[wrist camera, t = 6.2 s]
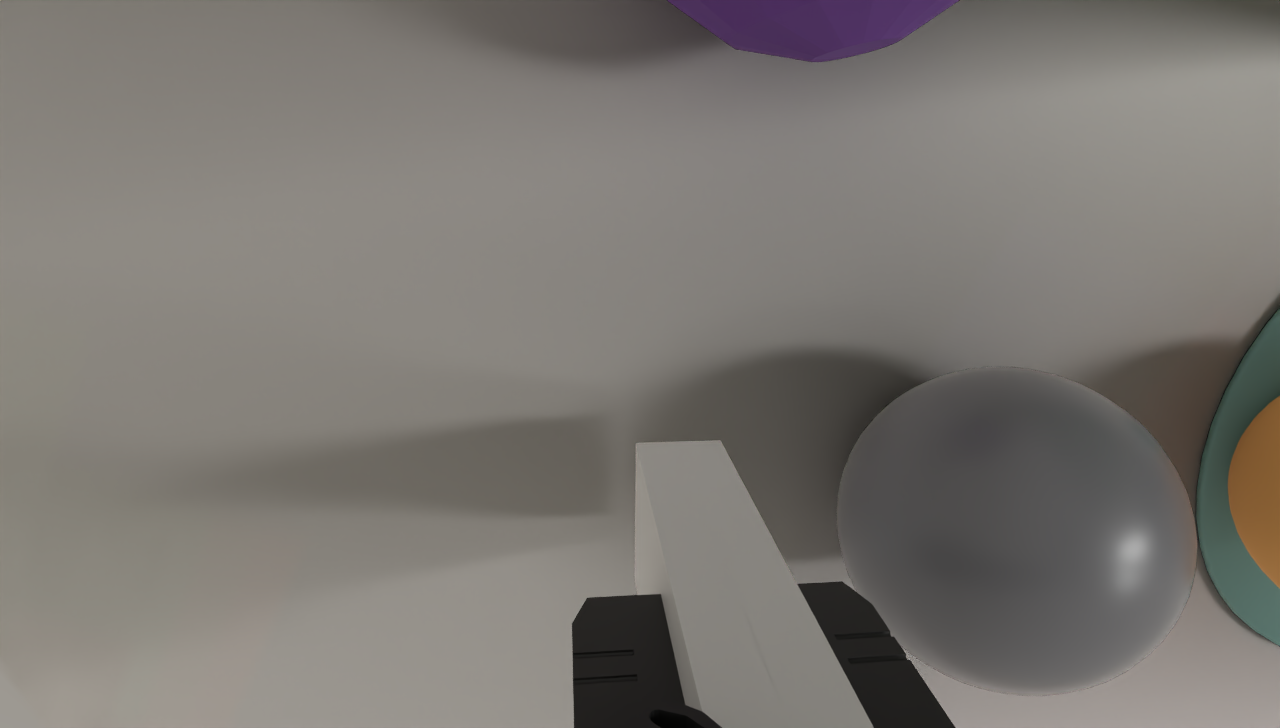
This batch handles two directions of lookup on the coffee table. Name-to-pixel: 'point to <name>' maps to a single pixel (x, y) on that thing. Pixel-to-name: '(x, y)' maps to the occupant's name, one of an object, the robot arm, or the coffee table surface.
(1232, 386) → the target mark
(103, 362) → the coffee table surface
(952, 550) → the gray ball
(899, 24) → the kendama
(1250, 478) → the orange ball
